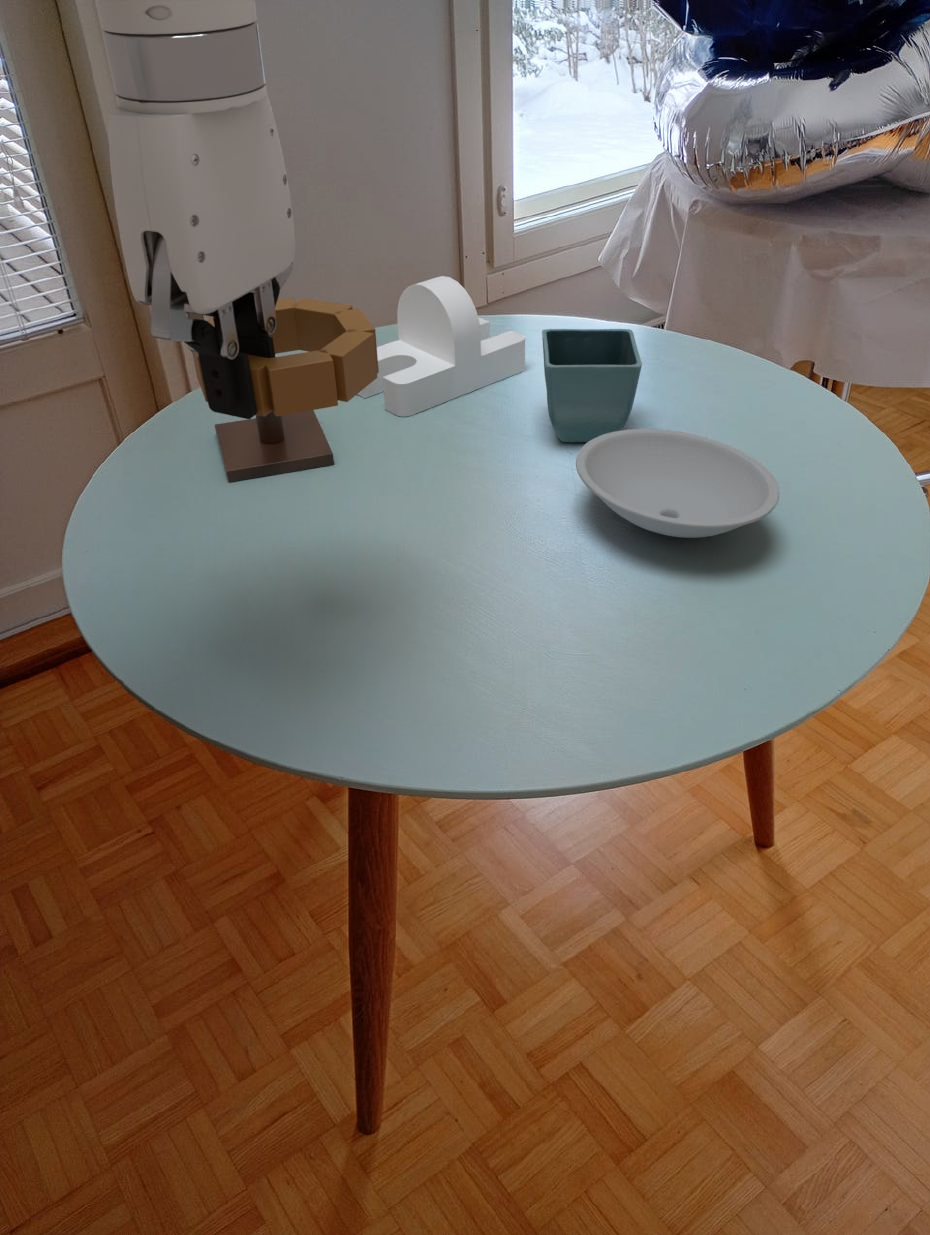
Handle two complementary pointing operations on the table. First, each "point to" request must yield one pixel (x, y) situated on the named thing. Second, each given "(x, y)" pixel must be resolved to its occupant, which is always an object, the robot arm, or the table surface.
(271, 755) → the table surface
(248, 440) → the peg stand
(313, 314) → the segmented block ring
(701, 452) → the dish
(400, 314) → the white slotted bracket
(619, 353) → the flower pot
